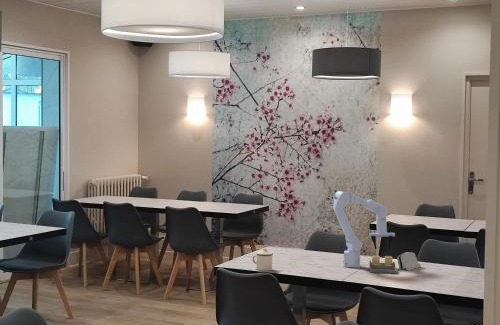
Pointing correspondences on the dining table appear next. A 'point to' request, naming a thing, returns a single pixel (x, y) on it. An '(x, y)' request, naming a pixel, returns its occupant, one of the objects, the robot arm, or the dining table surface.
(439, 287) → the dining table surface
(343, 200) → the robot arm
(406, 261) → the light grey rounded slab
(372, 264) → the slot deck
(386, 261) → the tan wooden cube
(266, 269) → the teacup with lid
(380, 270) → the tray
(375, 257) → the wooden cube
